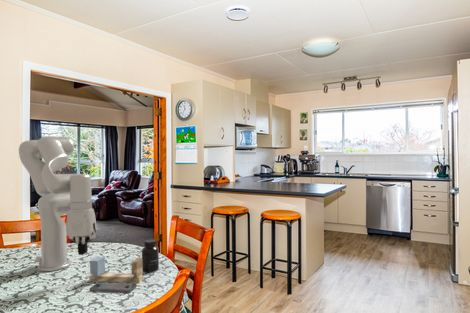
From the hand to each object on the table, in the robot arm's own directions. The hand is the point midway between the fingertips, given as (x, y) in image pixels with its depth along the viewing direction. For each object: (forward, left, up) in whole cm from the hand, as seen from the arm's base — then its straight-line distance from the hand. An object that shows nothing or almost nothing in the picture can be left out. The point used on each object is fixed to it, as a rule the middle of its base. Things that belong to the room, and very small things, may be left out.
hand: (82, 253), depth 122 cm
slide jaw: (+6, -2, -8) cm, 10 cm away
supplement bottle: (+22, +12, -10) cm, 27 cm away
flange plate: (+16, -7, -10) cm, 20 cm away
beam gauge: (+13, -2, -10) cm, 17 cm away
